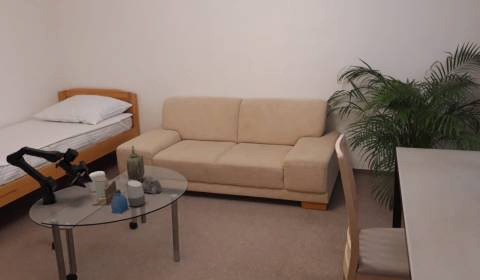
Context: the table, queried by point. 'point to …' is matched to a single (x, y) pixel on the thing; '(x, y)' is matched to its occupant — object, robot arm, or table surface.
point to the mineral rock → (151, 186)
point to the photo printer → (94, 177)
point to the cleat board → (107, 195)
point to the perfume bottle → (119, 202)
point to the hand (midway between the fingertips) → (89, 184)
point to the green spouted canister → (135, 166)
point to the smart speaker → (135, 193)
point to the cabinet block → (101, 187)
